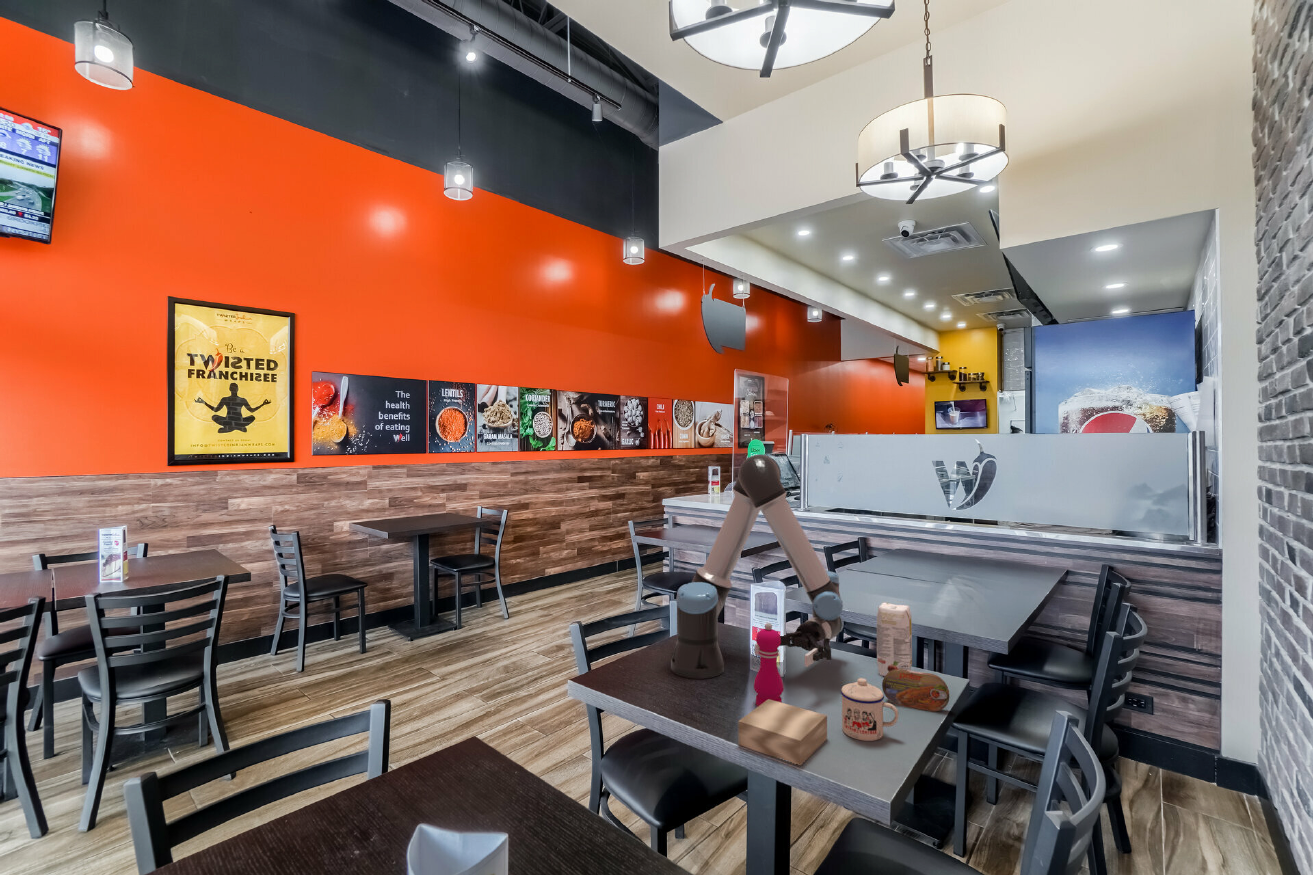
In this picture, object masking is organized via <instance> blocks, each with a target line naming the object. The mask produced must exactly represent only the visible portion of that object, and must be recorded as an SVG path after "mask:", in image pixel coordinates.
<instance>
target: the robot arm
mask: <svg viewBox="0 0 1313 875" xmlns="http://www.w3.org/2000/svg"><path fill="white" fill-rule="evenodd" d="M738 468H739V469H738V474H737V475H738V476H737V478H736V481H735V483H734V485H733V488H732V491H733V493H734V494H733V495H734V498H733V500H732V502H731V504H730V506H729V509H728V511H727V513H726V516H725V518H724V520H723V523H722V525H721V527H720V530H719V532H718V535H717V536H716V538H715V541H714V543H713V545H712V548H711V550H710V552H709V555H708V556H707V559H706V561H705V563H704V566H702V567H701V566H700V567H699V568H697V570H696V572H695V573H694V576H693V578H692V581H691V582H688V583H685V584H683V585H681V586H680V587H679V588H678V589H677V593H676V594H677V595H676V598H675V600H676V643H675V647H674V650H673V653H672V656H671V659H670V670H671V672H672V671H673V672H672V673H674V674H675V675H677V676H679V677H683V678H687V679H699V680H703V679H710V678H715V677H718V676H720V675H722V674H723V672H724V671H725V661H724V659H723V654H722V652H721V651H722V650H721V649H720V646H719V641H718V638H719V637H718V636H719V635H718V633H719V630H718V622H719V620H718V618H719V616H720V613H721V611H722V610H723V608H724V606H725V605H726V600H727V598H728V595H729V593H730V591H731V589H732V586H733V584H732V582H731V576H732V574H733V572H734V570H735V568H736V566H737V563H738V560H739V558H740V556H741V554H742V551H743V550H744V547H745V545H746V542H747V541H748V538H749V536H750V534H751V531H752V529H753V527H754V525H755V522H756V520H757V518H758V516H759V513H760V512H761V513H762V516H763V517H764V518H765V521H766V522H767V524H768V525H769V527H770V529H771V532H772V533H773V534H774V537H775V538H776V541H777V542H778V544H779V545H780V547H781V549H782V551H783V553H784V555H785V556H786V558H787V559H788V561H789V564H790V566H791V567H792V568H793V570H794V572H795V575H796V577H797V579H798V580H799V581H800V584H801V585H802V587H803V589H804V591H805V592H806V595H807V597H808V598H809V600H810V602H811V603H812V618H809V619H808V620H806V621H805V622H803V623H802V624H800V625H799V626H798V627H797V628H796V630H795V632H786V635H784V636H780V638H781V644H780V646H779V647H782V646H783V647H784V646H787V647H788V648H793V647H794V648H796V647H797V648H801V649H803V650H805V651H808V652H807V653H806V654H805V655H804V667H805V668H807V667H810V666H811V665H812V664H814V663H815V662H819V661H820V660H824V659H826V660H827V661H831V660H832V649H831V648H832V647H831V640H833V639H834V638H836V637H837V636H838V635H839V634H840V633H841V632H842V631H843V628H844V624H845V623H844V618H843V616H842V615H841V614H842V612H843V607H844V604H843V600H842V598H841V594H840V577H839V575H838V573H836V572H835V571H834V572H833V571H829V570H826V569H825V568H824V565H823V564H822V562H821V560H820V559H819V556H818V555H817V553H816V551H815V549H814V547H813V546H812V544H811V542H810V541H809V539H808V537H807V535H806V533H805V531H804V529H803V527H802V526H801V524H800V522H799V520H798V519H797V516H796V515H795V513H794V511H793V510H792V508H791V506H790V504H789V503H788V501H787V498H786V496H787V491H786V490H785V488H784V486H783V484H782V481H781V475H782V474H781V473H782V472H781V468H780V466H779V464H778V462H777V461H776V460H775V459H774V458H772V457H771V456H769V455H766V454H754V455H752V456H749V457H747V458H746V459H745V460H743V461H742V462H741V464H740V466H739V467H738ZM759 648H760V647H759V646H758V645H757V643H755V644H754V655H755V656H759V655H758V652H759V651H758V649H759Z"/></svg>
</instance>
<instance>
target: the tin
mask: <svg viewBox="0 0 1313 875" xmlns="http://www.w3.org/2000/svg"><path fill="white" fill-rule="evenodd" d="M881 686H882V687H881V688H882V693H883V695H884V697H886V699H887V700H888V701H890V702H891V704H893V705H895V706H898V707H899V706H900V707H905V708H910V709H917V710H923V711H927V712H940V711H942V710H943V709H945V708H946V707H947V705H948V704H949V701H950V690H949V688H948V685H947V683H946V681H944V680H943V678H941V677H940V676H938V675H937V674H934V673H928V672H923V671H916V670H915V671H914V670H910V671H909V670H902V669H894V670H892V671H890V672H888V673H887V675H886V676H883V680H882V682H881Z"/></svg>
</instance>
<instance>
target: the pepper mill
mask: <svg viewBox="0 0 1313 875" xmlns="http://www.w3.org/2000/svg"><path fill="white" fill-rule="evenodd" d="M772 628H773V625H772V624H771V622H766V623H765V624H764V628H763V629H760V630H759V631H758V632H757V633H756V638H755V642H756V643H757V645H758V646H759V647H760V648H759V649H758V651H759V652H758V655H757V656H759V658H760V660H759V661H760V664H759V669H758V672H757V673H756V675H755V677H754V678H755V679H754V681H753V688H754V691H755V693H756V695H755V704H756V707H758V706H760V705H761V704H762V703H764V702H765V701H767V700H768V699H770V700H774V701H777V702H781V703H783V701H782V700H783V699H782V697H781V695H782V694H783V692H784V689H785V688H784V682H783V679H782V677H781V674H780V672H779V668H778V663H777V660H778V657H779V656H780V654H779V647H781V646H780V644H781V638H780V635H779V634H778V631H776V630H775V629H772ZM756 643H755V644H756Z"/></svg>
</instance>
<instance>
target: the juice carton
mask: <svg viewBox="0 0 1313 875" xmlns="http://www.w3.org/2000/svg"><path fill="white" fill-rule="evenodd" d="M912 620H913V619H912V613H911V609H910V606H909V605H906V604H905V605H903V604H893V603H889V602H882V603H881V604H880V605H879V606H878V609H877V614H876V664H877V668H878V669H877V670H878V673H879V676H881V677H882V676H883V677H885V676H886V675H887V673H888V672H890V671H892V670H894V669H902V670H909V671H911V670H912V669H911V668H912V665H913V647H912V646H913V645H912V644H913V643H912V642H913V641H912V639H913V638H912V637H913V636H912V628H913V627H912V624H913V623H912Z"/></svg>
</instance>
